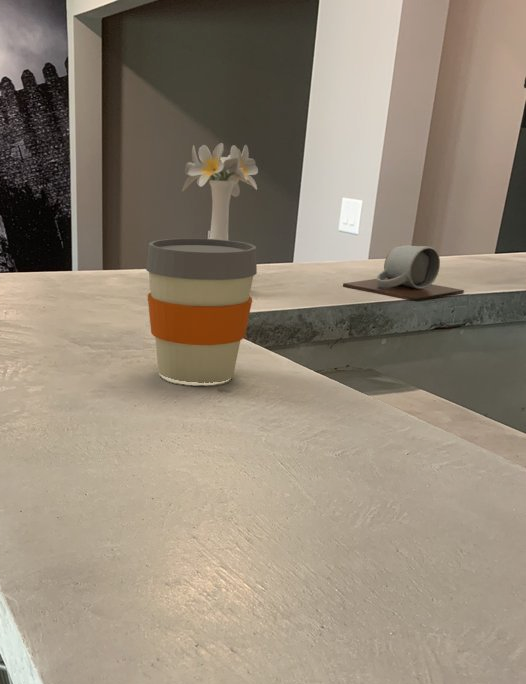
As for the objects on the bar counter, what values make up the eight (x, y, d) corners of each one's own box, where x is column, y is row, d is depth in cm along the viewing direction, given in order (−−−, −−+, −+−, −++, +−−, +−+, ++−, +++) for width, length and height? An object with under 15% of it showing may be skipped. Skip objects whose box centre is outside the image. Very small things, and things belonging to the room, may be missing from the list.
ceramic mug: (406, 280, 153) (412, 240, 150) (437, 287, 147) (444, 246, 143) (365, 285, 149) (370, 243, 145) (395, 292, 142) (401, 249, 139)
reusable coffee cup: (254, 392, 86) (266, 254, 80) (144, 390, 86) (146, 251, 80) (241, 362, 98) (250, 239, 91) (143, 360, 97) (145, 237, 91)
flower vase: (244, 283, 150) (255, 143, 139) (252, 301, 133) (265, 144, 123) (178, 281, 150) (184, 141, 140) (178, 299, 134) (184, 142, 123)
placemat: (463, 293, 146) (464, 290, 146) (417, 301, 138) (417, 297, 137) (389, 279, 158) (389, 276, 158) (342, 286, 150) (342, 283, 149)
